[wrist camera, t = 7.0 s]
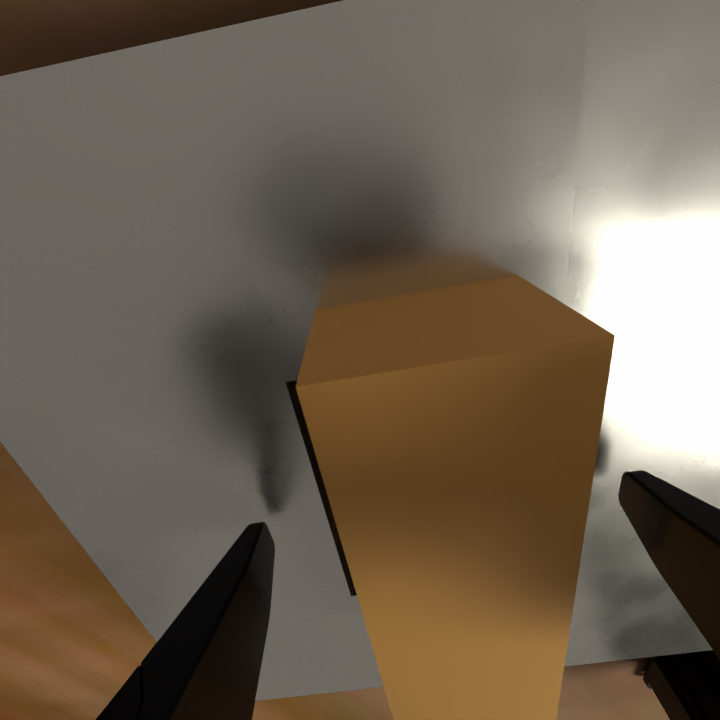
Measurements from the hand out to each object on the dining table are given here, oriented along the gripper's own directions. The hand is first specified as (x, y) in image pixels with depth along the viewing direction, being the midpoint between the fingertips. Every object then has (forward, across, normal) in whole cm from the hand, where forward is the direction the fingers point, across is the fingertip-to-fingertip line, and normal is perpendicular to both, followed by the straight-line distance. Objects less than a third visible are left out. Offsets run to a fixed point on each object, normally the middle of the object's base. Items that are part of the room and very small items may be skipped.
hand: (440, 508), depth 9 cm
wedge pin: (+4, 0, 0) cm, 5 cm away
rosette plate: (+6, 0, 0) cm, 6 cm away
